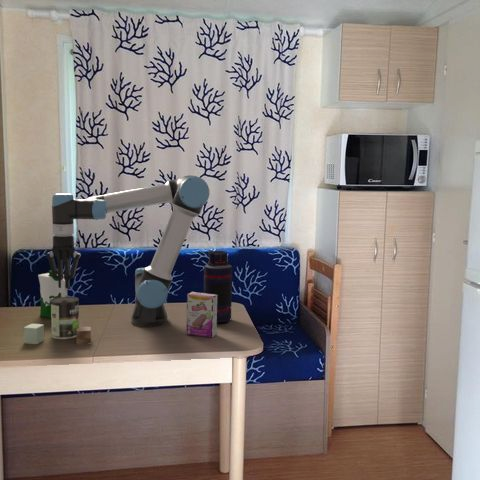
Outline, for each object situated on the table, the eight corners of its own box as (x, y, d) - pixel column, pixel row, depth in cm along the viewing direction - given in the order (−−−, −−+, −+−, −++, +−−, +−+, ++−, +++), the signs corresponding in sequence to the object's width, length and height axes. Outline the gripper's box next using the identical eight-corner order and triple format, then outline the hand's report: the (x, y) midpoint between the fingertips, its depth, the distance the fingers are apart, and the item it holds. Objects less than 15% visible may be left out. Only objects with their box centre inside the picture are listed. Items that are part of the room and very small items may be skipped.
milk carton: (49, 319, 228) (48, 272, 226) (36, 315, 234) (35, 269, 231) (67, 315, 236) (66, 269, 233) (54, 311, 241) (53, 266, 238)
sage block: (44, 340, 203) (43, 324, 202) (37, 344, 198) (36, 328, 197) (31, 339, 204) (31, 323, 203) (24, 343, 199) (23, 327, 198)
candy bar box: (185, 335, 213) (186, 294, 210) (191, 331, 217) (191, 291, 215) (212, 338, 209) (213, 297, 207) (217, 334, 214) (217, 294, 211)
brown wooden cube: (90, 339, 205) (90, 326, 204) (90, 343, 200) (90, 330, 200) (77, 340, 204) (76, 327, 203) (76, 344, 199) (76, 331, 198)
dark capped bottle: (235, 323, 230) (237, 253, 225) (209, 326, 224) (211, 254, 220) (222, 314, 242) (223, 248, 237) (197, 317, 237) (198, 249, 232)
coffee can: (84, 332, 213) (83, 297, 211) (71, 340, 203) (70, 303, 201) (60, 330, 215) (59, 295, 213) (46, 338, 205) (45, 301, 203)
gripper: (42, 235, 200) (43, 298, 203) (77, 236, 200) (78, 299, 203) (49, 233, 207) (50, 293, 210) (83, 234, 207) (84, 294, 210)
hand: (64, 296), depth 207 cm, fingers closed
